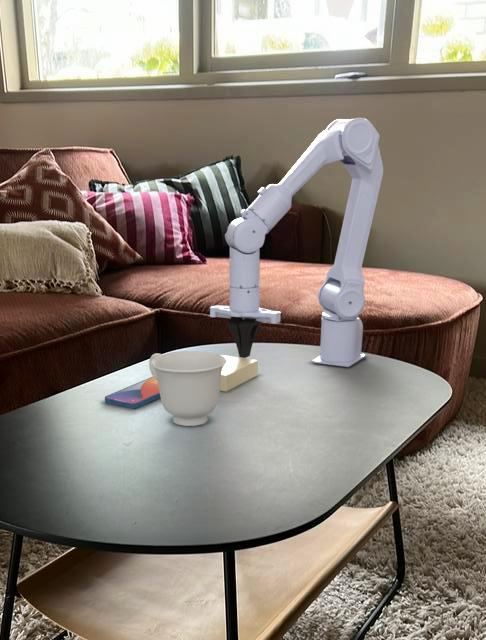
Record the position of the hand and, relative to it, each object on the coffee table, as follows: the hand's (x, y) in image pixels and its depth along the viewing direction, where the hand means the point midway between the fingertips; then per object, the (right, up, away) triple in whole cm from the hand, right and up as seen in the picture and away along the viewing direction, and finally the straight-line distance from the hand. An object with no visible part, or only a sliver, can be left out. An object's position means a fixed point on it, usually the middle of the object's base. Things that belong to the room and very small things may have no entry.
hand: (244, 356), depth 151 cm
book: (-5, -6, -6) cm, 9 cm away
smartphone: (-19, -10, -13) cm, 25 cm away
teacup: (-11, -16, -25) cm, 32 cm away
